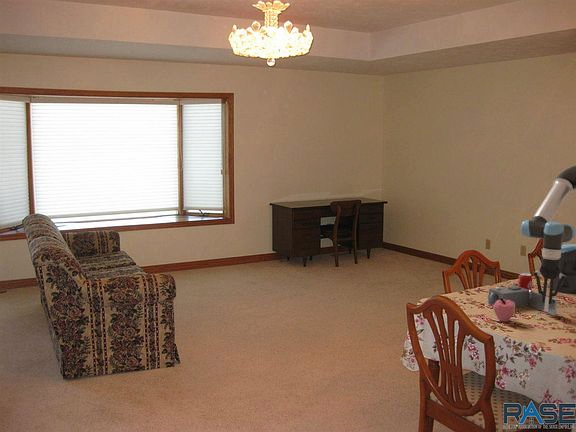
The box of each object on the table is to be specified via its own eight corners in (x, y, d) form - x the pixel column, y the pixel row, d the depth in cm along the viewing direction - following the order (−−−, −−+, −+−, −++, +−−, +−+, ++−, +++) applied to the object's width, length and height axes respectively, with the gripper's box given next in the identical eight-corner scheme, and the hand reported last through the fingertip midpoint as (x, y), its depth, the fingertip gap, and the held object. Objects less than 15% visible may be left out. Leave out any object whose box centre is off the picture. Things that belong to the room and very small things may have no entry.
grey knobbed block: (514, 299, 294) (516, 283, 293) (528, 305, 286) (530, 288, 284) (484, 303, 287) (485, 287, 285) (498, 309, 278) (499, 292, 277)
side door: (527, 304, 285) (528, 290, 284) (531, 304, 285) (532, 289, 284) (553, 315, 269) (555, 300, 268) (557, 315, 270) (558, 299, 269)
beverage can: (531, 300, 293) (533, 276, 291) (517, 299, 294) (519, 275, 292) (529, 297, 299) (531, 273, 297) (515, 296, 300) (517, 272, 298)
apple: (511, 325, 256) (513, 302, 254) (490, 321, 260) (491, 298, 259) (516, 319, 264) (518, 296, 262) (495, 315, 268) (497, 293, 267)
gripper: (534, 257, 267) (529, 310, 270) (567, 261, 261) (561, 315, 265) (535, 254, 274) (531, 306, 277) (567, 258, 268) (562, 310, 271)
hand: (546, 310), depth 271 cm, fingers closed
